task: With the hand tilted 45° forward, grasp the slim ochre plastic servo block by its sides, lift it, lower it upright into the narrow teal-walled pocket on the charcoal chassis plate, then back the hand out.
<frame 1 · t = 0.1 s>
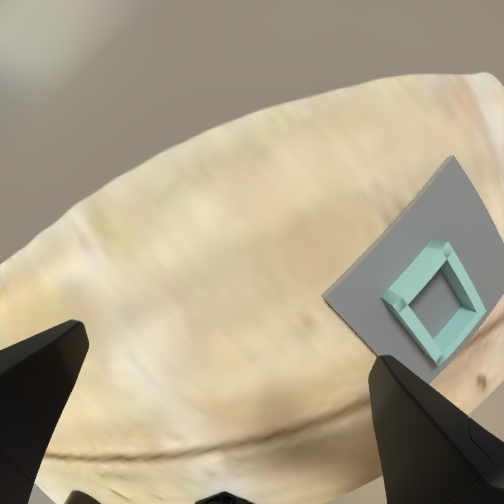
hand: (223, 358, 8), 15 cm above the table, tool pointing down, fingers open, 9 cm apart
supplement bottle: (88, 499, 30), on the table
chassis plate: (426, 298, 23), on the table
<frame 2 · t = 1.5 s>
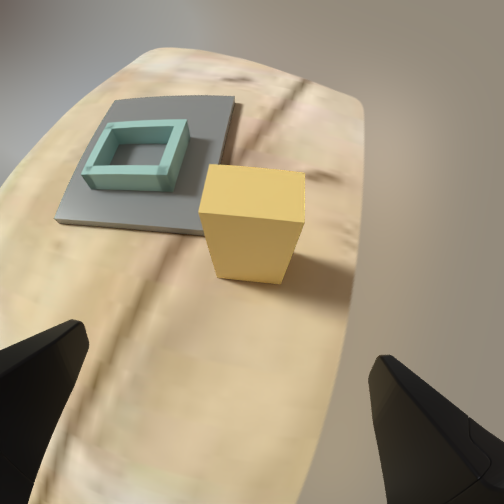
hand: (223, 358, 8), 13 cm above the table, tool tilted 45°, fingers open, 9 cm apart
chassis plate: (142, 167, 27), on the table
servo block: (250, 263, 23), on the table
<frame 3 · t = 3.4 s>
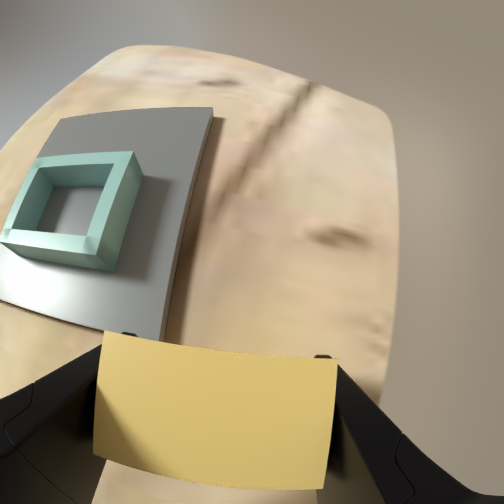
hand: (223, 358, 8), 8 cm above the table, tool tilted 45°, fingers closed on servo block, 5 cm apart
chassis plate: (81, 222, 18), on the table
servo block: (231, 388, 14), on the table, touching gripper
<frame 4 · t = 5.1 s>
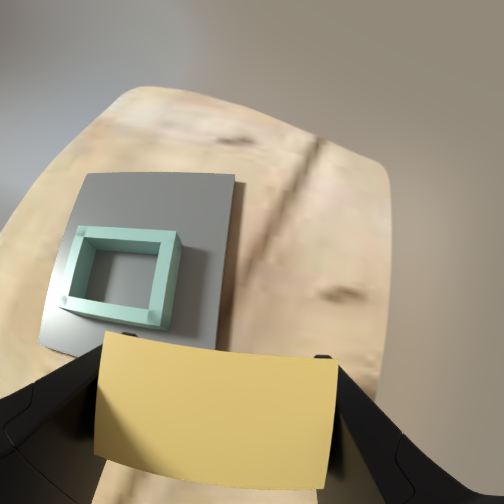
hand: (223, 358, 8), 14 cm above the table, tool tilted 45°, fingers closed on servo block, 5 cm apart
chassis plate: (128, 284, 22), on the table
servo block: (231, 388, 14), point 6 cm above the table, touching gripper
when the fingers open (10 cm above the table, at t = 7.1 s): servo block drops 1 cm, resting on chassis plate.
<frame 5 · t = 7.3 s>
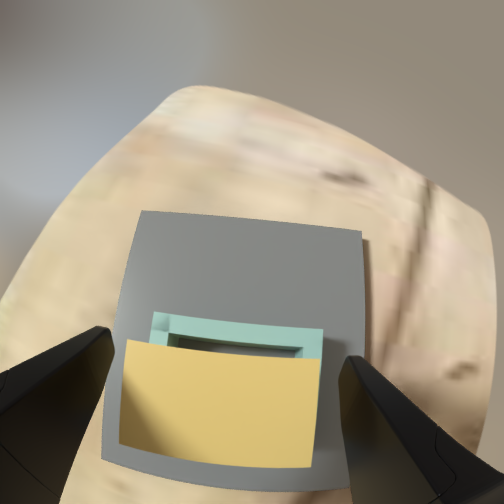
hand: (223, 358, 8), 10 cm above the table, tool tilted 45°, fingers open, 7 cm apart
chassis plate: (232, 385, 16), on the table
servo block: (232, 386, 15), point 1 cm above the table, touching chassis plate
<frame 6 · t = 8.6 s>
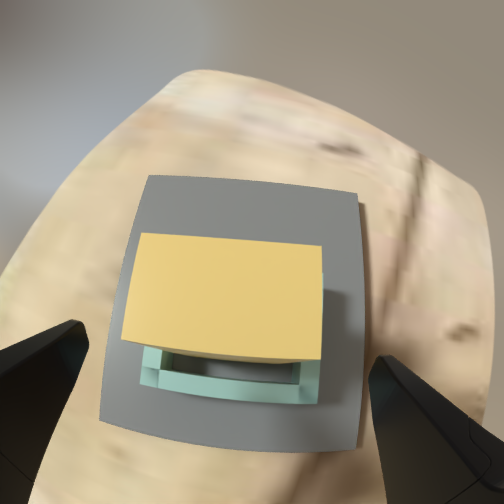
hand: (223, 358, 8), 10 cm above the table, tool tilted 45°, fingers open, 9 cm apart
chassis plate: (235, 337, 17), on the table
servo block: (235, 336, 16), point 1 cm above the table, touching chassis plate
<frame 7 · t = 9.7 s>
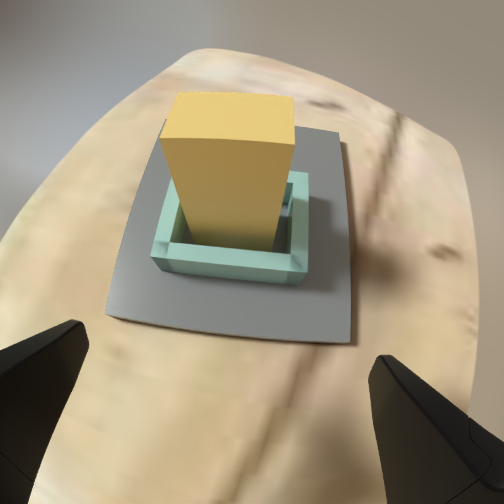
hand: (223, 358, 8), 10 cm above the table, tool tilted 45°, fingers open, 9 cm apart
chassis plate: (235, 235, 20), on the table
servo block: (235, 229, 19), point 1 cm above the table, touching chassis plate
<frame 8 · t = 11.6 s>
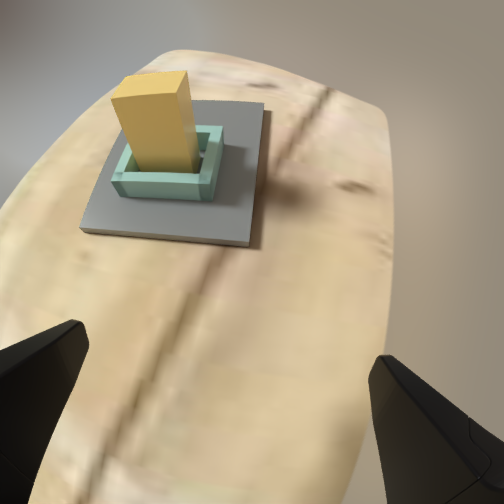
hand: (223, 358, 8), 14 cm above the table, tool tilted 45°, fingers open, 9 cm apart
chassis plate: (174, 174, 27), on the table
servo block: (172, 168, 26), point 1 cm above the table, touching chassis plate
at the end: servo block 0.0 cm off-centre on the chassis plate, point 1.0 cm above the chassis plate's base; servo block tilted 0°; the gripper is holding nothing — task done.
